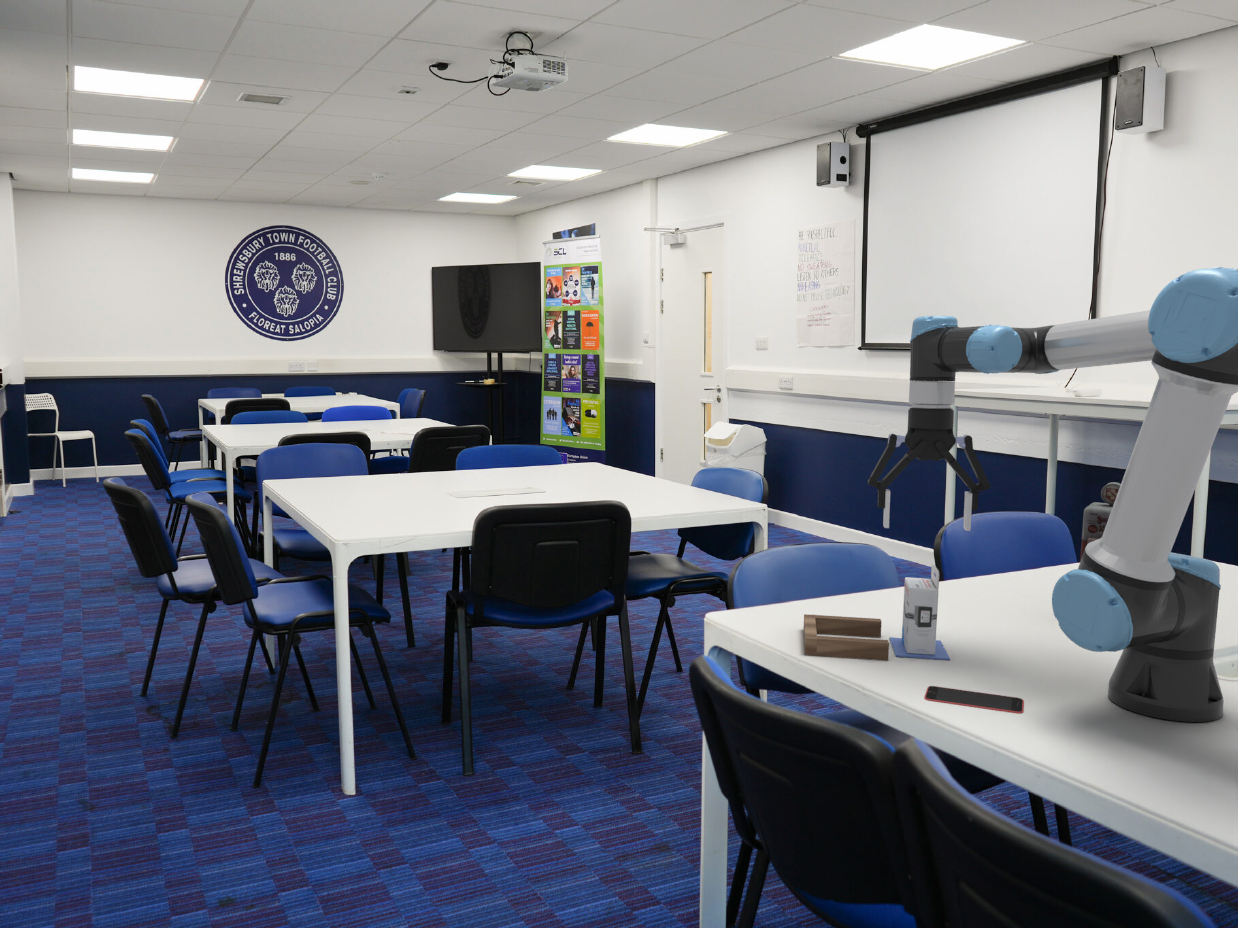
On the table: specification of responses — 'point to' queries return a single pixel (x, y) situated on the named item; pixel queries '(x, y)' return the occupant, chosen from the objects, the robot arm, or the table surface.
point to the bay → (842, 644)
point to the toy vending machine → (1098, 515)
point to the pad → (901, 652)
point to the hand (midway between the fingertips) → (926, 528)
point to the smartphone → (975, 699)
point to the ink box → (920, 613)
